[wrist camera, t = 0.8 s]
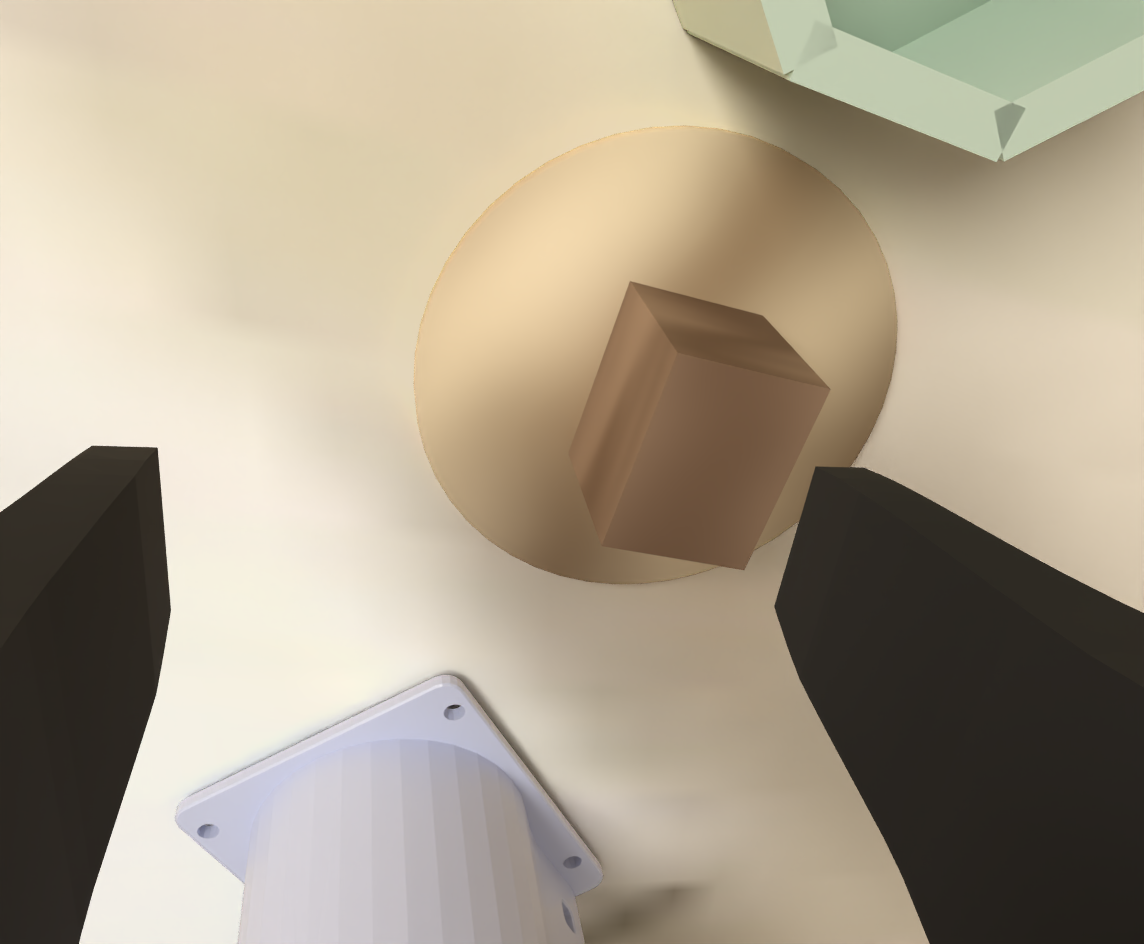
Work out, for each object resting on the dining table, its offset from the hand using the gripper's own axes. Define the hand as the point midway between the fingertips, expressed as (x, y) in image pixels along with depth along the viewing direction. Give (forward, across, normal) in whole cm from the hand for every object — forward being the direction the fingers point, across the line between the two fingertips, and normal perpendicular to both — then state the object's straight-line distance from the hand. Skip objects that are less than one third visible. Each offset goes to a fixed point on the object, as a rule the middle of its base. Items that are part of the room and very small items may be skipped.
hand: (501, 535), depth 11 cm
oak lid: (+10, -5, +2) cm, 11 cm away
